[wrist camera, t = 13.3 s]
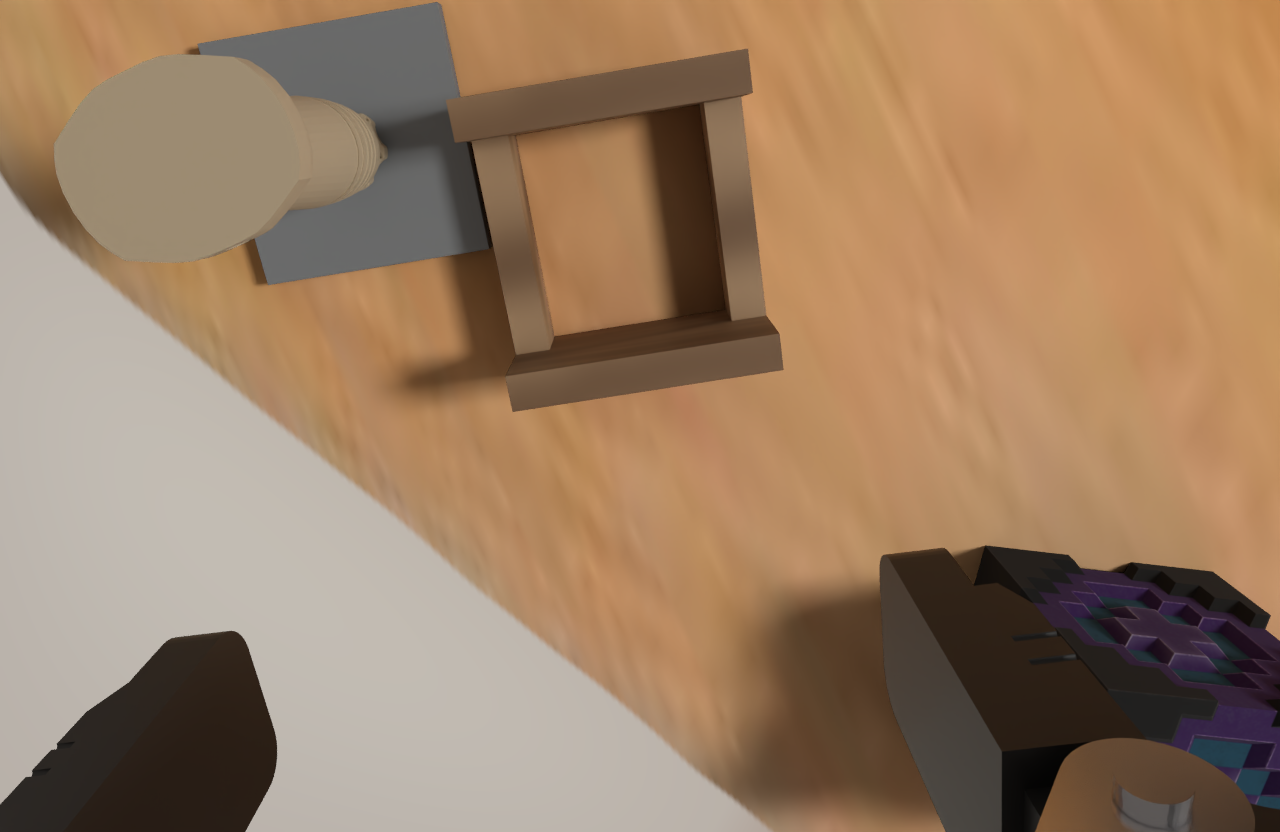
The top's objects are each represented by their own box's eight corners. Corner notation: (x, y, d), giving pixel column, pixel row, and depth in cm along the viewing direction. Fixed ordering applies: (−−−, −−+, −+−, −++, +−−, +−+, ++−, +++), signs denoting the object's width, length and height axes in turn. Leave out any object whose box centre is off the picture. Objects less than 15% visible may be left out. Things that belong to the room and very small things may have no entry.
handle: (255, 126, 37) (18, 123, 22) (391, 61, 36) (235, 16, 22) (313, 233, 38) (124, 295, 24) (445, 173, 37) (331, 199, 23)
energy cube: (1212, 571, 45) (1411, 721, 33) (1140, 762, 48) (1297, 957, 37) (984, 544, 44) (1108, 688, 33) (929, 741, 48) (1023, 932, 36)
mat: (206, 45, 36) (197, 43, 36) (441, 4, 36) (437, 2, 35) (275, 282, 40) (268, 284, 39) (491, 246, 39) (489, 249, 38)
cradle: (473, 104, 37) (445, 99, 32) (729, 61, 37) (747, 48, 31) (528, 372, 41) (512, 411, 35) (761, 336, 41) (783, 369, 35)
